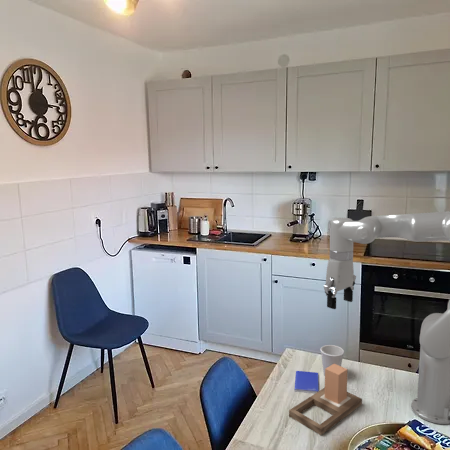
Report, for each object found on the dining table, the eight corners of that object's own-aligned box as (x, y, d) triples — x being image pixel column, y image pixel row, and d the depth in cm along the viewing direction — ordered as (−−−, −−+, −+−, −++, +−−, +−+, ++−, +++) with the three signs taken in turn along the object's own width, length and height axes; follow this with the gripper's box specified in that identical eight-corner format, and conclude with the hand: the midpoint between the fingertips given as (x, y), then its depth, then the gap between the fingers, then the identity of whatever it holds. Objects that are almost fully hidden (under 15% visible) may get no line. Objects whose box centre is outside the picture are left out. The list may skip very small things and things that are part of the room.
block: (346, 397, 128) (347, 369, 127) (337, 404, 125) (338, 374, 124) (333, 391, 132) (334, 363, 131) (324, 397, 129) (325, 368, 127)
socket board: (361, 404, 128) (362, 398, 128) (321, 435, 114) (321, 428, 114) (330, 389, 137) (330, 383, 137) (289, 416, 123) (289, 409, 123)
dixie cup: (343, 382, 141) (343, 356, 139) (319, 379, 144) (319, 353, 142) (343, 371, 149) (344, 346, 147) (320, 368, 151) (321, 343, 150)
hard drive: (318, 391, 135) (318, 372, 146) (294, 388, 136) (295, 370, 148) (318, 395, 135) (318, 376, 147) (294, 392, 137) (295, 374, 148)
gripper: (345, 249, 140) (344, 295, 142) (316, 257, 128) (315, 308, 131) (365, 252, 134) (363, 301, 137) (335, 261, 123) (334, 314, 125)
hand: (339, 304), depth 134 cm, fingers open, 9 cm apart
